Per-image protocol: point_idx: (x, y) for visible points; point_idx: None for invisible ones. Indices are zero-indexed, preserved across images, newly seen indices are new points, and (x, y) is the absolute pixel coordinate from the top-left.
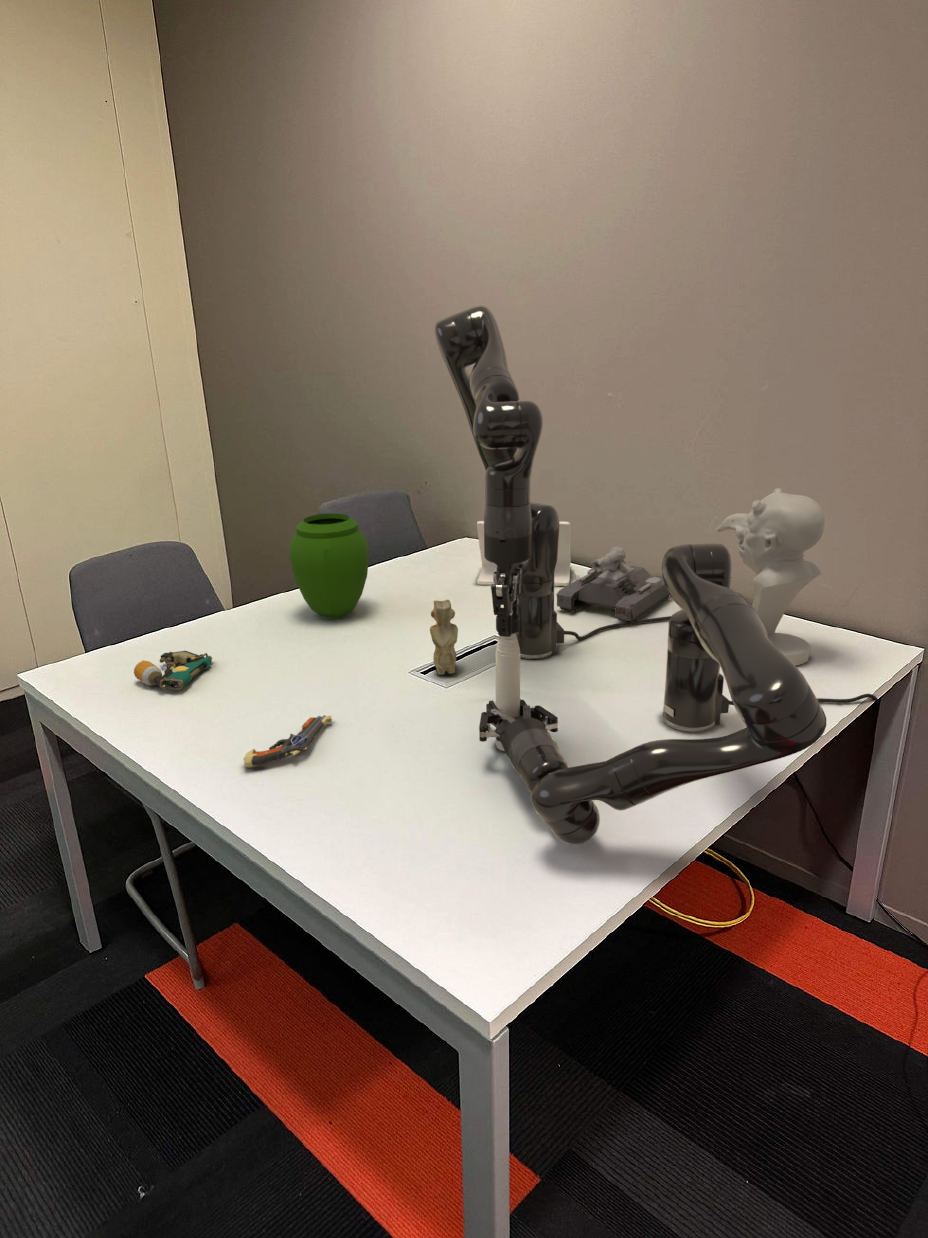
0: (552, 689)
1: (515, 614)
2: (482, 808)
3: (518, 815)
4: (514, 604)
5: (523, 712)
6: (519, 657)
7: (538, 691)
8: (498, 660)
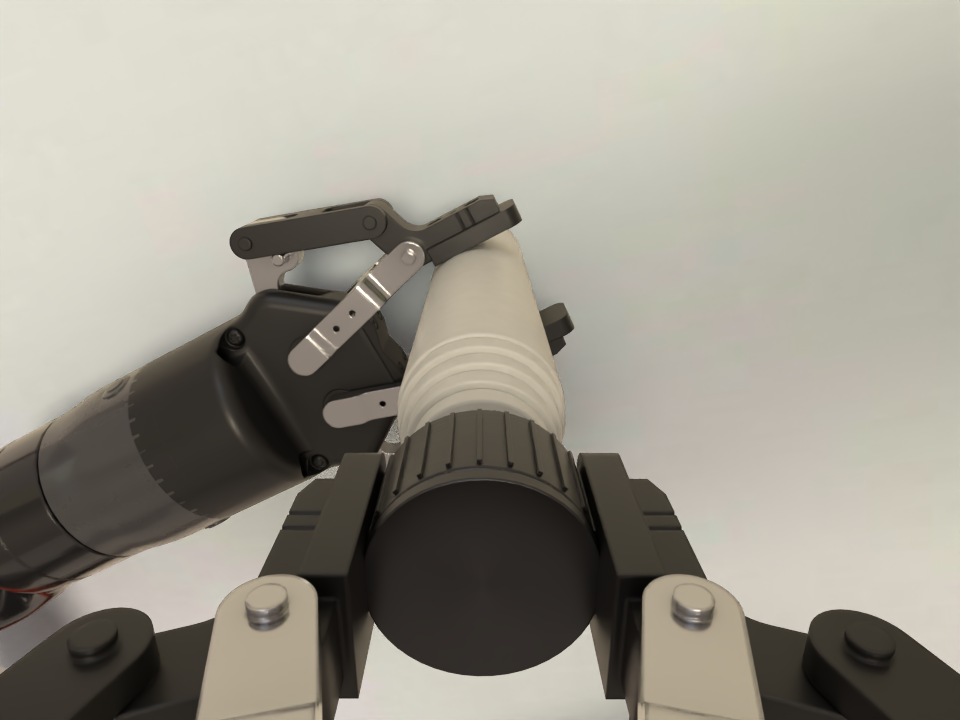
0: (943, 332)
1: (556, 637)
2: (88, 263)
3: (98, 369)
4: (626, 697)
5: (397, 387)
6: None
7: (927, 285)
8: (417, 349)
